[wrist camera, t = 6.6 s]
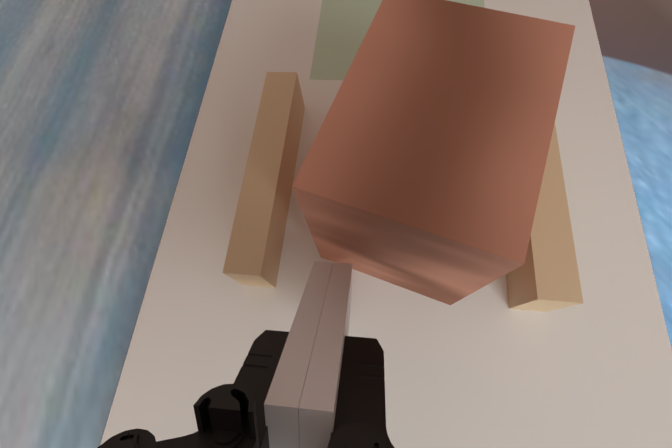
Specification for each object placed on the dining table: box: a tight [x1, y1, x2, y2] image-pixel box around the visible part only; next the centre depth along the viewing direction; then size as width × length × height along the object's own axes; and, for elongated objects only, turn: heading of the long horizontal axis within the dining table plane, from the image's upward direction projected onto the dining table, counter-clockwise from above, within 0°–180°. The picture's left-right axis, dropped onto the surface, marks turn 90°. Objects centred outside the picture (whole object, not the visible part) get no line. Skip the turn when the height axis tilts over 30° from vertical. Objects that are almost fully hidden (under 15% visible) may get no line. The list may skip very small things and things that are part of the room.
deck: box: [100, 0, 672, 448], centre depth 19 cm, size 22×44×6 cm, turn 175°
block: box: [292, 0, 575, 305], centre depth 13 cm, size 6×8×7 cm
